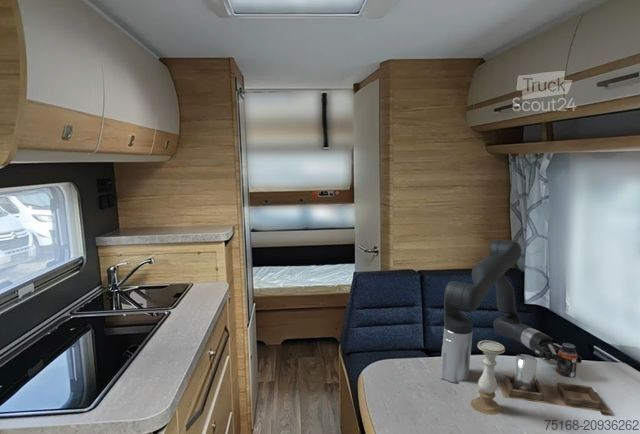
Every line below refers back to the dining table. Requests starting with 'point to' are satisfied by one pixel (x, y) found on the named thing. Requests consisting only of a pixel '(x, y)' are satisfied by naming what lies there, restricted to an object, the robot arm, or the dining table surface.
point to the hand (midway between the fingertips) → (573, 361)
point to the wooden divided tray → (556, 395)
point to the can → (525, 373)
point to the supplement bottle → (571, 357)
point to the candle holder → (488, 379)
